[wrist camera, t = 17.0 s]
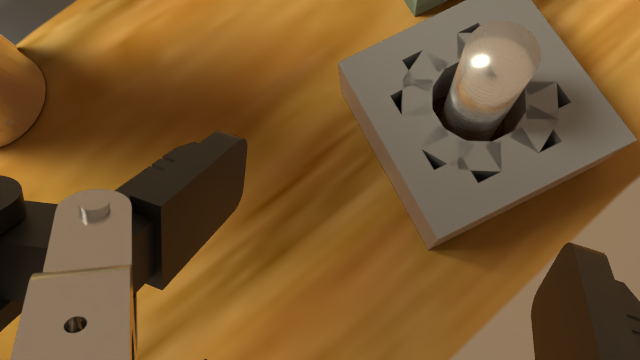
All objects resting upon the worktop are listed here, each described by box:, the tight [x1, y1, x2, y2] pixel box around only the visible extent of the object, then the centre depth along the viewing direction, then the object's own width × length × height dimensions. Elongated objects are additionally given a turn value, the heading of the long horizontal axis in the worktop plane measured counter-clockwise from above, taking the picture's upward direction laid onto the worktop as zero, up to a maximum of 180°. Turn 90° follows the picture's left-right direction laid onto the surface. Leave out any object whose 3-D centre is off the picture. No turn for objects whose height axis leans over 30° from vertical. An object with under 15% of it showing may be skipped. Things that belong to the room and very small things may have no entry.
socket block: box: [338, 0, 637, 250], centre depth 33 cm, size 14×14×5 cm
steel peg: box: [439, 21, 541, 141], centre depth 30 cm, size 4×4×11 cm
